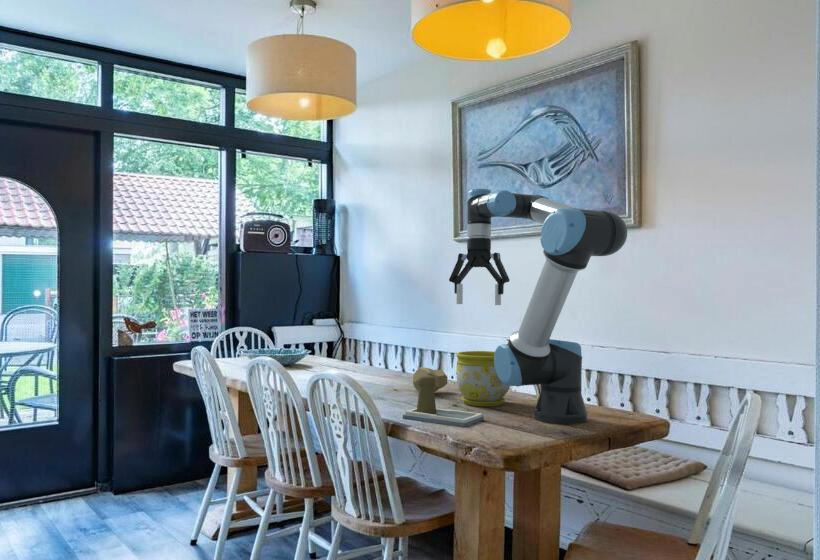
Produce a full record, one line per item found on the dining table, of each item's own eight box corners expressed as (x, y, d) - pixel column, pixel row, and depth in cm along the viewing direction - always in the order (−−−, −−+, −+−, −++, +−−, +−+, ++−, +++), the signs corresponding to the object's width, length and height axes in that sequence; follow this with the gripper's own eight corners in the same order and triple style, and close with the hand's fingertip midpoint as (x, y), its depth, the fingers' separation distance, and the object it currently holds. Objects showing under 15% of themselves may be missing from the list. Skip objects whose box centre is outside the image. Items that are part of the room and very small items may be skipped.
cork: (434, 415, 185) (435, 377, 185) (414, 414, 186) (414, 376, 186) (438, 411, 191) (438, 374, 191) (418, 410, 192) (418, 373, 192)
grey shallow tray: (483, 419, 185) (483, 413, 185) (463, 427, 175) (463, 420, 175) (424, 411, 196) (424, 405, 196) (402, 418, 186) (402, 412, 186)
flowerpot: (468, 396, 224) (469, 349, 224) (518, 401, 215) (518, 352, 215) (447, 404, 208) (447, 354, 208) (499, 410, 199) (500, 357, 199)
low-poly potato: (412, 398, 222) (441, 384, 219) (402, 369, 226) (430, 355, 224) (427, 403, 235) (455, 390, 232) (417, 376, 240) (444, 363, 237)
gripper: (520, 237, 201) (519, 305, 200) (450, 240, 214) (449, 303, 214) (510, 235, 194) (509, 305, 194) (439, 238, 208) (438, 303, 208)
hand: (478, 304), depth 204 cm, fingers open, 13 cm apart
